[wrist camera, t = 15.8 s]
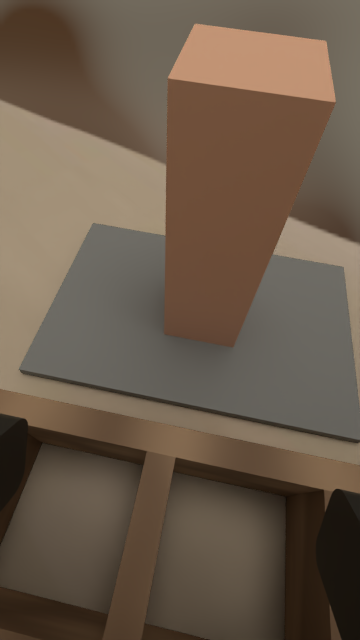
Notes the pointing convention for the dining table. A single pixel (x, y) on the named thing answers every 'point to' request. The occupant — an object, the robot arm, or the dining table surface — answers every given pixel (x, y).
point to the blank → (235, 168)
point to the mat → (201, 357)
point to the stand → (149, 511)
